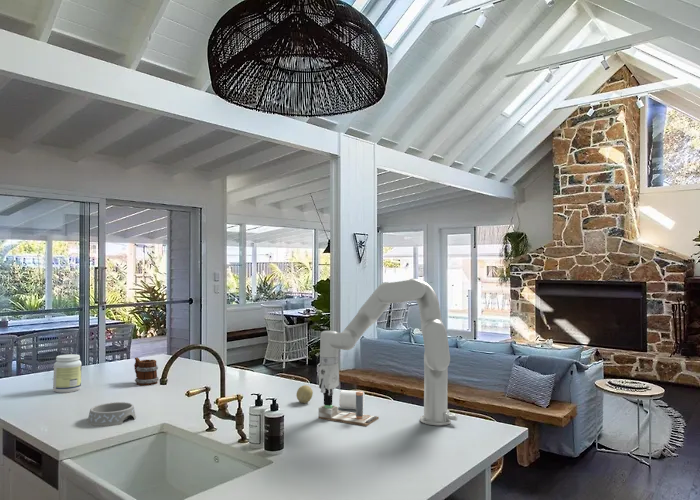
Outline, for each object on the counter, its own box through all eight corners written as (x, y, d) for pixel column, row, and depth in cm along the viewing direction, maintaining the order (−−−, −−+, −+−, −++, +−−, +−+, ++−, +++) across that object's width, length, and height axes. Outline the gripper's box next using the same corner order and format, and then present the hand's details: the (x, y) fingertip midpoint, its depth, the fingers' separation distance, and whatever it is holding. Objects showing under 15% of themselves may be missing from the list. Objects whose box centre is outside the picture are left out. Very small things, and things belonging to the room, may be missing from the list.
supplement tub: (86, 389, 262) (87, 355, 262) (61, 394, 252) (62, 359, 252) (72, 386, 268) (73, 353, 269) (47, 390, 258) (49, 356, 259)
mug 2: (361, 412, 229) (361, 393, 229) (339, 410, 231) (339, 392, 231) (366, 405, 240) (366, 387, 241) (344, 403, 242) (345, 386, 243)
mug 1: (147, 386, 269) (144, 357, 270) (127, 388, 275) (125, 359, 277) (164, 382, 279) (161, 353, 281) (145, 383, 285) (143, 356, 287)
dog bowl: (76, 424, 207) (77, 410, 207) (112, 412, 224) (113, 399, 224) (111, 429, 201) (111, 415, 201) (144, 416, 218) (145, 403, 219)
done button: (333, 412, 220) (333, 404, 220) (329, 413, 217) (329, 406, 218) (326, 411, 222) (326, 403, 222) (323, 412, 219) (323, 405, 219)
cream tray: (378, 418, 219) (378, 408, 219) (366, 426, 208) (366, 415, 208) (332, 411, 229) (332, 401, 229) (318, 418, 218) (318, 407, 218)
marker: (364, 417, 217) (364, 392, 217) (360, 419, 214) (361, 393, 215) (357, 416, 218) (357, 391, 219) (354, 418, 216) (354, 392, 216)
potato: (313, 401, 246) (314, 383, 246) (310, 405, 238) (311, 387, 238) (297, 400, 247) (298, 383, 247) (294, 404, 239) (294, 387, 239)
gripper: (328, 364, 212) (327, 410, 211) (345, 358, 225) (344, 402, 225) (312, 362, 215) (310, 407, 215) (329, 357, 229) (328, 399, 228)
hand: (327, 404), depth 220 cm, fingers closed
